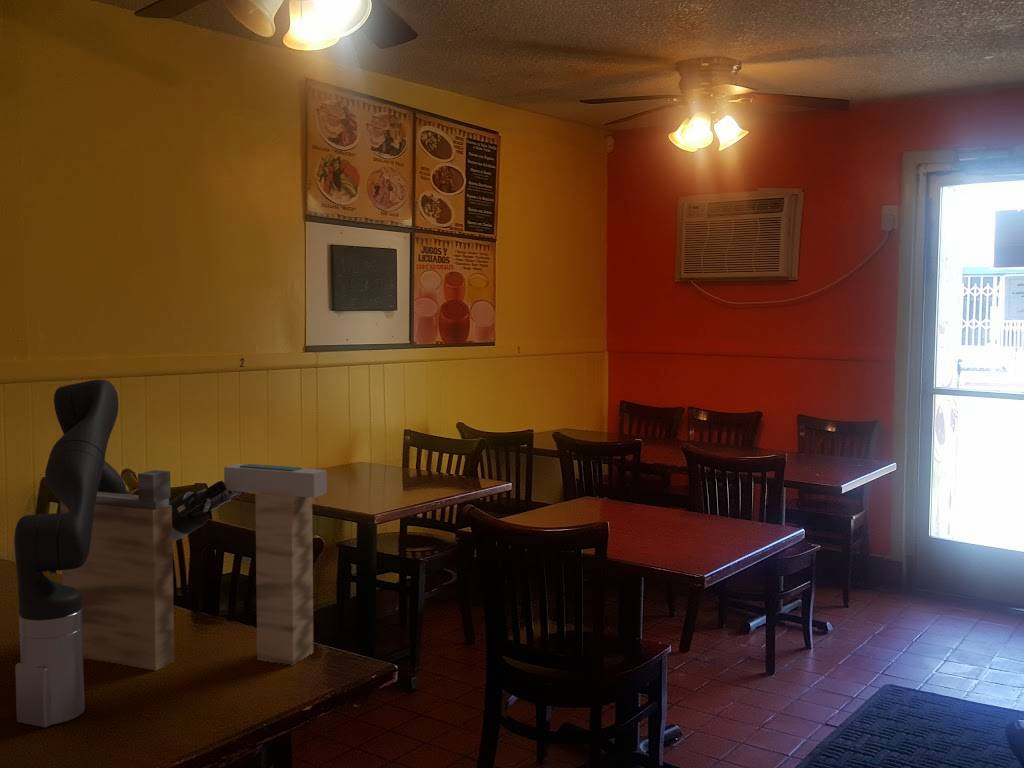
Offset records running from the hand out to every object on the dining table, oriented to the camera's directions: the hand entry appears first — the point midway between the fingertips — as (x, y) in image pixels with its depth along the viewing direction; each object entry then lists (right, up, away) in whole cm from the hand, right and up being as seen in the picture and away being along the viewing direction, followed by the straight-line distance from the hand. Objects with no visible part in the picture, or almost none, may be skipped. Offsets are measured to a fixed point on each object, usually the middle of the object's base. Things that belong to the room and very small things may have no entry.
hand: (237, 481), depth 183 cm
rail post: (-22, -34, -3) cm, 40 cm away
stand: (+10, -34, -1) cm, 35 cm away
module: (+8, -2, -3) cm, 9 cm away
